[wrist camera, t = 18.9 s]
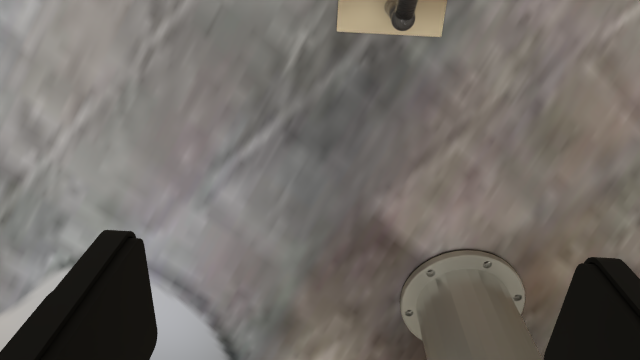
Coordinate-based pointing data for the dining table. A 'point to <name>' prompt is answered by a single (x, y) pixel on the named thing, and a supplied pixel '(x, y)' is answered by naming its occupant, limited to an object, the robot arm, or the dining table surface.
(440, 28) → the wire board
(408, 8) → the bent wire
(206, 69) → the dining table surface
